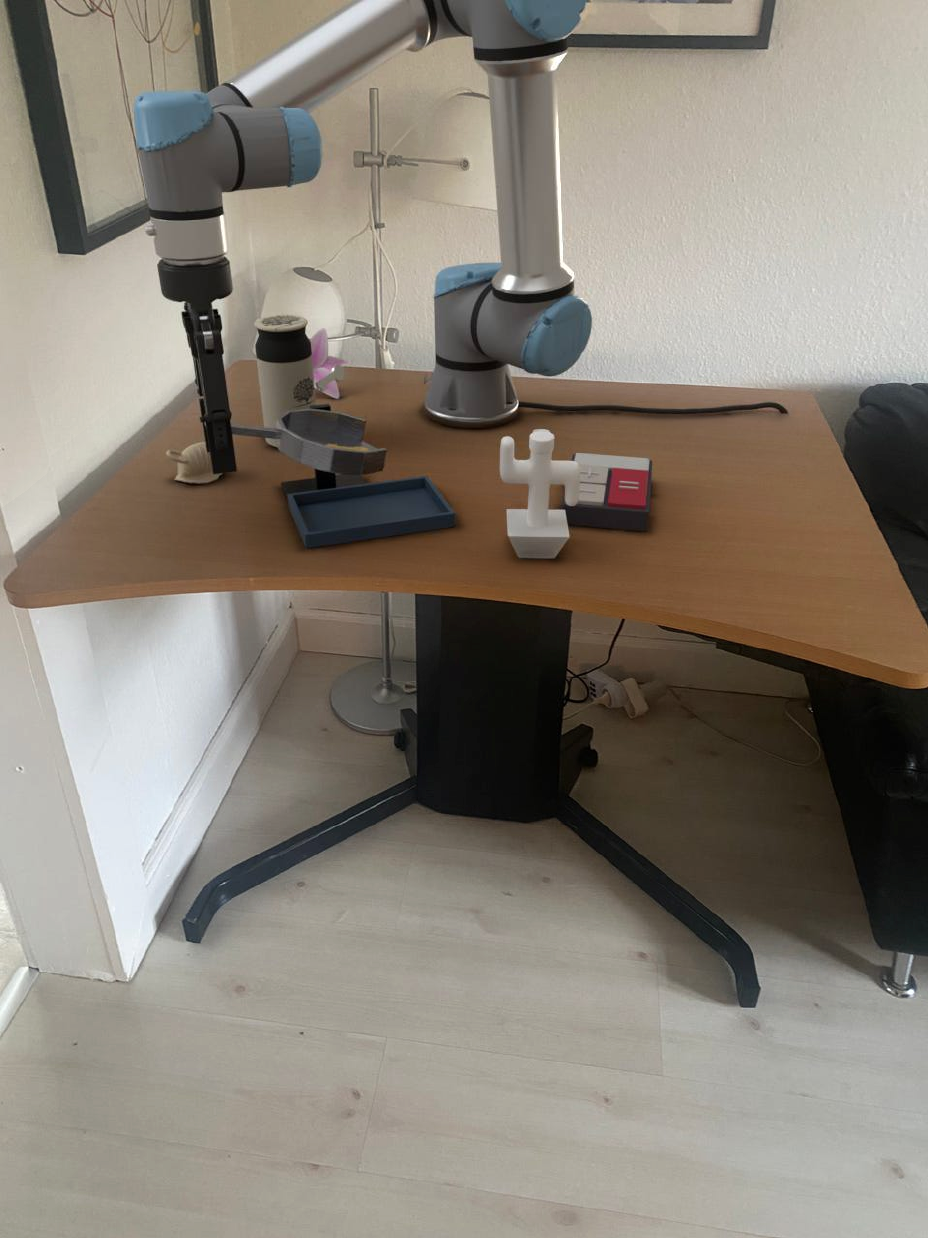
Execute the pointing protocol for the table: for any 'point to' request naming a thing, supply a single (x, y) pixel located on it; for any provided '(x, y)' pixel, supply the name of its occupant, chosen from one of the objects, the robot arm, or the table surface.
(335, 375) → the nickel key
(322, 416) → the grey frying pan
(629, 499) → the calculator
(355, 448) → the brass key
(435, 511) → the tray
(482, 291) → the robot arm
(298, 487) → the stand
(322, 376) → the lily
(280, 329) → the travel mug
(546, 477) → the figurine
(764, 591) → the table surface
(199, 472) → the decorative ornament
